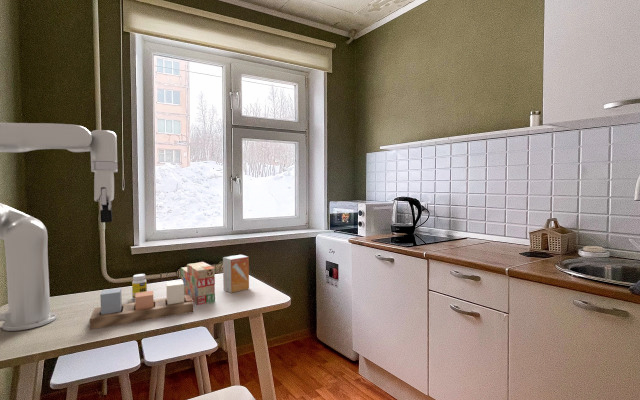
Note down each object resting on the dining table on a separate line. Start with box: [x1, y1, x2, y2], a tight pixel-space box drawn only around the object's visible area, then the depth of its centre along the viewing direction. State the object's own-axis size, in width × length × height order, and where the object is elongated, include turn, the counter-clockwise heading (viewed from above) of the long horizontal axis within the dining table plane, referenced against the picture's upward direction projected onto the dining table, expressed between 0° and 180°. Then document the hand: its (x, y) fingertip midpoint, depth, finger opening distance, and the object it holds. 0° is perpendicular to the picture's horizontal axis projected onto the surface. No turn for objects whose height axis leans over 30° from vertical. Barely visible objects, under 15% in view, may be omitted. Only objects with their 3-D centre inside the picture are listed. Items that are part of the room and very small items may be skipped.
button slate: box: [99, 287, 123, 315], centre depth 104 cm, size 5×5×6 cm
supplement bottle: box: [131, 273, 148, 300], centre depth 126 cm, size 5×5×8 cm
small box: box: [222, 254, 250, 293], centre depth 134 cm, size 8×6×13 cm
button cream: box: [165, 279, 185, 305], centre depth 112 cm, size 5×5×6 cm
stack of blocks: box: [180, 261, 216, 306], centre depth 127 cm, size 21×6×12 cm, turn 36°
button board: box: [89, 294, 194, 330], centre depth 108 cm, size 28×10×3 cm, turn 116°
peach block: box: [134, 290, 154, 310], centre depth 108 cm, size 5×5×6 cm
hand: (106, 221), depth 115 cm, fingers closed
